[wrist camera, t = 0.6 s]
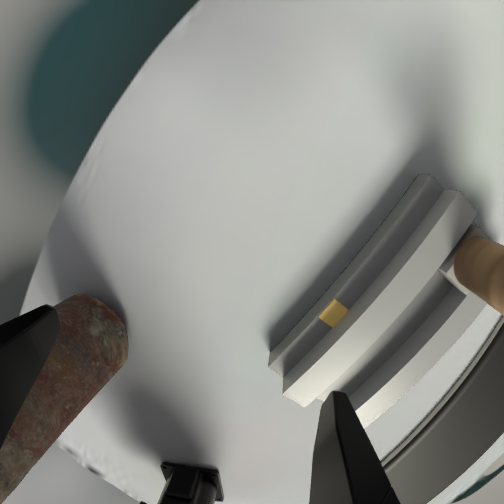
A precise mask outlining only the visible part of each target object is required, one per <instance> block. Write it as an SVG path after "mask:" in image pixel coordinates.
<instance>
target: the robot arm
mask: <svg viewBox="0 0 504 504" xmlns="http://www.w3.org/2000/svg"><path fill="white" fill-rule="evenodd" d="M60 331H61V322H60V319H59V315H58V311H57V309H56V308H55V307H52V306H50V305H47V304H46V305H43V306H40V307H38V308H36V309H34V310H32V311H30V312H27V313H25V314H23V315H21V316H19V317H17V318H14V319H12V320H10V321H8V322H6V323H4V324H2V325H0V450H1V448H2V446H3V443H4V441H5V439H6V437H7V435H8V433H9V431H10V429H11V427H12V425H13V423H14V421H15V419H16V417H17V415H18V413H19V411H20V409H21V407H22V405H23V403H24V401H25V400H26V398H27V396H28V394H29V392H30V390H31V389H32V387H33V385H34V383H35V381H36V380H37V378H38V376H39V374H40V373H41V371H42V369H43V367H44V365H45V363H46V361H47V359H48V357H49V355H50V352H51V350H52V348H53V346H54V344H55V342H56V340H57V338H58V336H59V333H60ZM161 469H162V472H163V475H164V477H165V480H166V484H165V487H164V489H163V491H162V494H161V496H160V499H159V501H158V504H214V502H215V501H223V499H224V496H223V491H222V486H221V481H220V476H219V472H218V471H216V470H210V469H202V468H195V467H188V466H182V465H176V464H170V463H164V462H163V463H162V464H161ZM140 504H146V503H145V502H143V501H141V502H140ZM309 504H401V503H400V501H399V499H398V497H397V495H396V493H395V491H394V489H393V487H391V483H390V481H389V479H388V477H387V475H386V473H385V471H384V469H383V466H382V464H381V462H380V460H379V458H378V456H377V454H376V452H375V450H374V448H373V446H372V444H371V442H370V440H369V438H368V436H367V434H366V432H365V430H364V428H363V426H362V424H361V422H360V420H359V418H358V416H357V414H356V412H355V410H354V408H353V406H352V404H351V402H350V400H349V398H348V396H347V394H346V393H345V392H342V391H336V390H333V391H331V392H330V394H329V395H328V397H327V398H326V400H325V401H324V403H323V404H322V407H321V411H320V417H319V423H318V429H317V434H316V440H315V445H314V451H313V461H312V476H311V489H310V502H309Z"/></svg>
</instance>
